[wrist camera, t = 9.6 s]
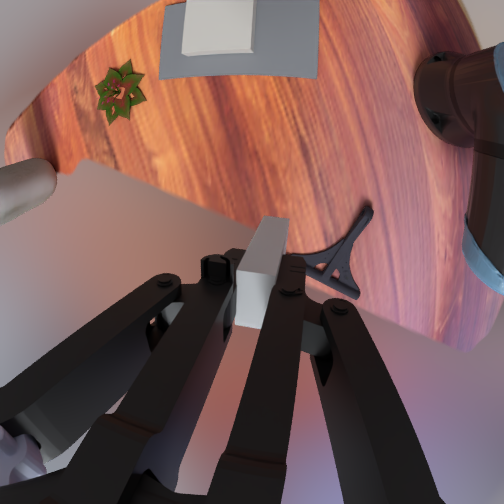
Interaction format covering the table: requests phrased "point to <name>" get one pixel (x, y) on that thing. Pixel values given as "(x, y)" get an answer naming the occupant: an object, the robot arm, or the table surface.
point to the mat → (265, 44)
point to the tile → (219, 27)
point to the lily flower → (111, 84)
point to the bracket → (338, 259)
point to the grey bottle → (25, 187)
